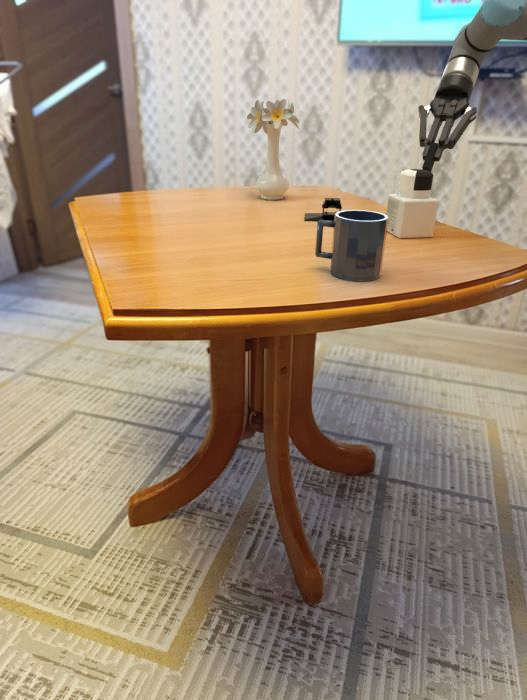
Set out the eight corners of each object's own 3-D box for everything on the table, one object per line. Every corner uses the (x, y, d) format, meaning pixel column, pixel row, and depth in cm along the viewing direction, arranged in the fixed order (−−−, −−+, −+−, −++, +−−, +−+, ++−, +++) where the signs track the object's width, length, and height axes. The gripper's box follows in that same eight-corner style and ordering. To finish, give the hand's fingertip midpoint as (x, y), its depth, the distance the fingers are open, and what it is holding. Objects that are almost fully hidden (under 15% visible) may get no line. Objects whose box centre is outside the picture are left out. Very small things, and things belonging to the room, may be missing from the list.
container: (415, 228, 113) (425, 167, 107) (433, 237, 106) (444, 172, 101) (383, 229, 112) (391, 167, 106) (399, 238, 105) (408, 172, 99)
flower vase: (271, 190, 153) (273, 98, 141) (307, 201, 139) (313, 99, 127) (233, 194, 146) (232, 97, 135) (267, 205, 132) (269, 98, 121)
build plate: (304, 221, 118) (305, 200, 116) (304, 214, 124) (305, 195, 122) (358, 223, 117) (360, 202, 115) (355, 216, 124) (357, 196, 122)
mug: (384, 270, 86) (392, 213, 82) (374, 284, 79) (382, 223, 75) (321, 261, 90) (325, 206, 86) (306, 274, 83) (310, 215, 79)
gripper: (485, 99, 116) (457, 185, 111) (428, 98, 121) (398, 179, 116) (487, 72, 109) (457, 162, 104) (426, 72, 115) (394, 157, 110)
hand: (426, 171), depth 110 cm, fingers closed
